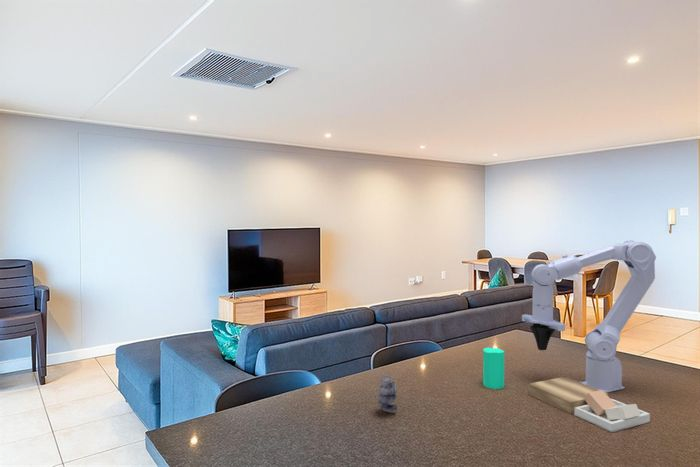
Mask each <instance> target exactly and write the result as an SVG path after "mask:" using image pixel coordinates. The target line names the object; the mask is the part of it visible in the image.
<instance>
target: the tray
mask: <svg viewBox="0 0 700 467" xmlns="http://www.w3.org/2000/svg"><path fill="white" fill-rule="evenodd" d="M610 399H611V400H612V401H613V402H614V403H615V404H616V405H617V406H620V405H627V404H626V403H624V402H622V401H618V400H616V399H614V398H610ZM638 410H639V413H640V415H639V416H635V417H631V418H628V419H616V420H608V418H607V415H606V414H604V415H600V416H598V415H597V414H596V413H595V412H594V410H593V409H592V408H591V407H590V406H589V405H588V404H587V405H583V406H579V407H575V413H574V417H576V418H580V419H582V420H583V421H586V422H588V423H590V424H592V425H594V426H597V427H599V428H601V429H603V430H605V431H608V432H610V433H615V432H619V431H623V430H627V429H630V428H633V427H636V426H639V425H640V426H641V425H643V424H647V423H650V422H651V413H649V412H647V411H644V410H642V409H640V408H638Z"/></svg>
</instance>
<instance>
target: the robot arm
mask: <svg viewBox="0 0 700 467" xmlns="http://www.w3.org/2000/svg"><path fill="white" fill-rule="evenodd" d="M656 258H657V256H656V254H655V252H654V250H653V248H652V246H650V245H649V244H648V243H646V242H644V241H634V240H626V241H624V242H616V243H613V244H610V245H607V246H604V247H602V248H600V249H597V250H594V251H591V252H588V253H586V254H583V255H580V256H578V257H577V256H575V255H572V254H569V255H568V254H563V255H561V258H557V259H554V260H552V261H550V260H547V261H545V263H546V264H543V263H542V264H537V265H536V266H534V268H533V269H532V272H531V274H530V275H531V279H533V281H532V282H533V283H532V287H533V288H532V307H531V308H532V309H531V310H532V315H531V314H522V315H521V321H522V322H527V323H531V324H532V325H529V326H530V327H529V328H530V330H531V332H532V334H533V336H534V339H535V342H536V346H537V350H539V351H547V348H548V345H549V342H550V340H551V337H552V335H553V334H554V332H555V331H556V330H557V332H565V331H566V324H565V323H562V322H560V321H557V320H556V319H554V288H553V287H554V282H555V280H556V281H559V280H562V279H565V278H568V277H572V276H575V275H578V274H580V272H581V271H582V268H584V267H589V266H591V265H595V264H598V263H601V262H605V261H609V260H614V261H615V260H616V261H622V262H623V263H624V264H625V265H626V266H627V269H628V271H629V273H630V275H631V276H630V278H629V279H628V281H627V283H626V284H625V286H624V288H623V289H622V291H621V292H620V293H619V295H618V296H617V298H616V300H615V302H614V303H613V304H612V306H611V308H610V309H609V310H608V312H607V314H606V316H604V319H603V320H602V322H600V323H599V324H597V325H596V326H595V328H594V329H593V330H591V331H589V332H588V333H587V334H586V335H585V337H584V343H585V345H586V347H587V349H588V350H587V351H586V353H585V381H579V382H580V383H582V384H585V385H588V386H590V387H593V388H596V389H598V390H603V391H604V392H606V393H611V392H615V391H619V390H620V391H621V390H624V389H625V386H623V384H622V383H623V382H622V381H623V378H622V377H623V373H622V372H623V367H622V363H621V360H620V359H619V358H618V357H617V356H616V353H617V346H618V344H619V342H620V340H621V331H622V330H623V329H624V328H625V327H626V324H628V323H627V322H628V321H629V320H630V318H631V317H632V315H633V314H634V312H635V310H636V309H637V308H638V307H639V304H640V303H641V301H642V299H643V298H644V296H645V295H646V293H647V292H648V291H649V289H650V287H651V286H652V284H653V283H654V280H655V279H656V271H655V270H656V269H655V261H656Z"/></svg>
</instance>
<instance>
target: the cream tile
mask: <svg viewBox="0 0 700 467" xmlns="http://www.w3.org/2000/svg"><path fill="white" fill-rule="evenodd" d="M638 409H639V408H638V405H637V404H636V403H631V404H626V405H620V406H615V407H611V408H607V409H605V412H606V415H607V418H608V420H616V419H628V418H631V417H635V416H639V415H640V413H639V410H640V409H639V410H638Z"/></svg>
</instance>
